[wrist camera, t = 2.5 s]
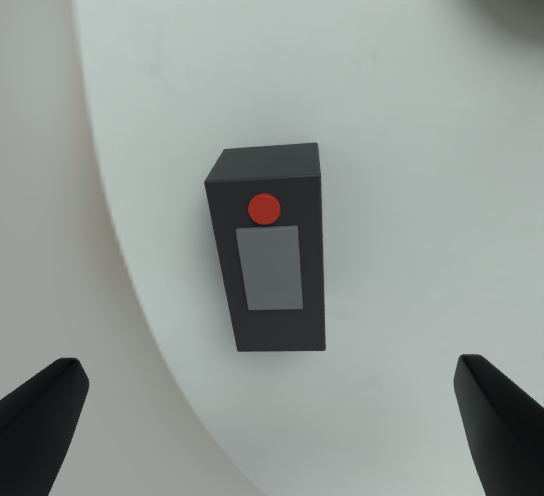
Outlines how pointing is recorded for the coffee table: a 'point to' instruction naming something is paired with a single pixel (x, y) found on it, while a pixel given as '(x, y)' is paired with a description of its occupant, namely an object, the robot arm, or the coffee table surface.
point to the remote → (271, 245)
